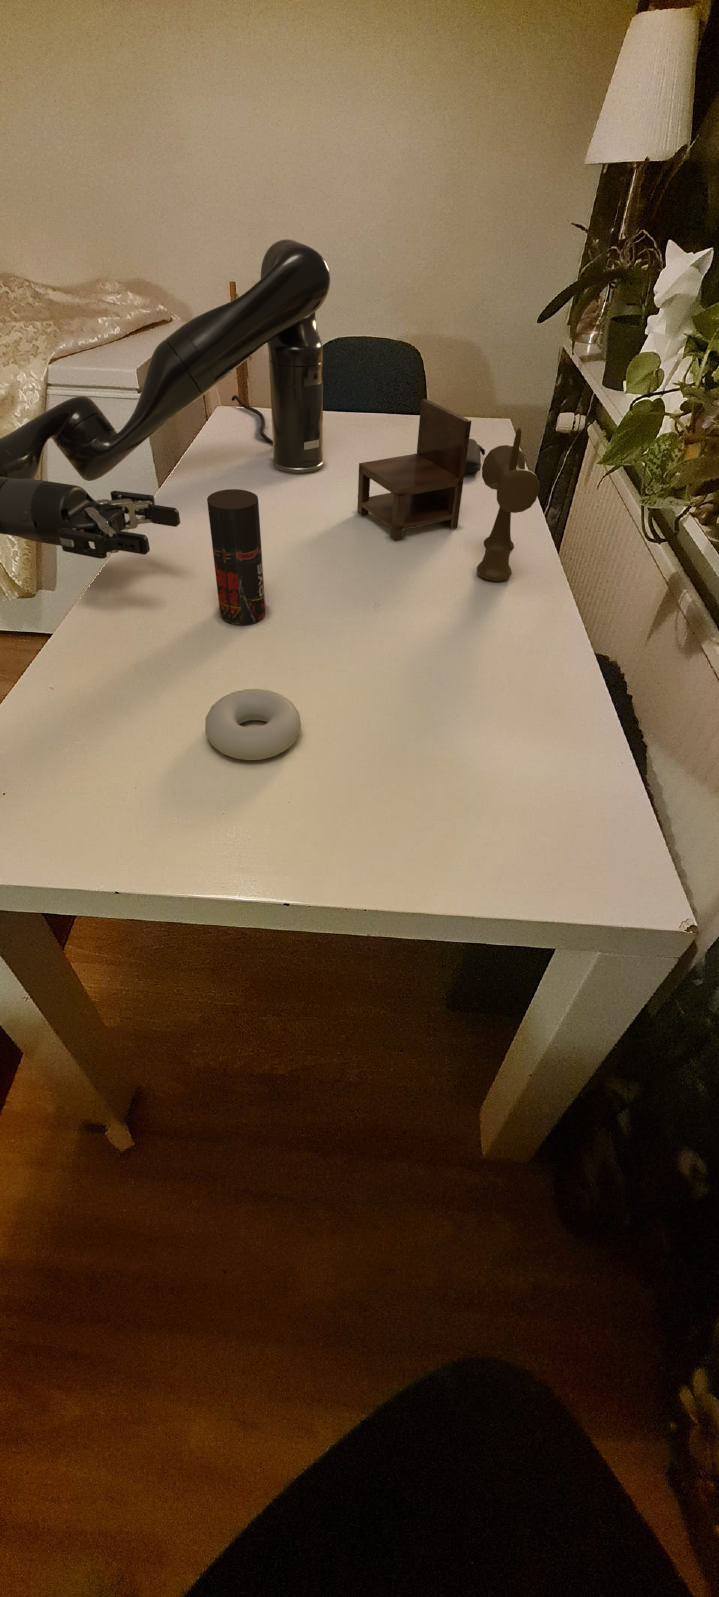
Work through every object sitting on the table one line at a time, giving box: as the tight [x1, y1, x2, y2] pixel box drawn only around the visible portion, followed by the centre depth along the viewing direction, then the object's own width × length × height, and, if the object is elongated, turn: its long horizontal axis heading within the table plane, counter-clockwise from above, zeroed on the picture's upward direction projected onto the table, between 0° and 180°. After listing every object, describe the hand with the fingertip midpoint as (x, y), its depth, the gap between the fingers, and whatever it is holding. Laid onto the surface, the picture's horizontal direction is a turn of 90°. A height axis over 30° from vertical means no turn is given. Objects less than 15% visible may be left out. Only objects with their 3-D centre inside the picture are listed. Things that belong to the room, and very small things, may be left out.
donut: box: [204, 688, 302, 761], centre depth 74 cm, size 10×4×10 cm
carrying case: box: [464, 438, 486, 477], centre depth 135 cm, size 11×3×15 cm
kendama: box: [476, 427, 540, 582], centre depth 97 cm, size 6×10×20 cm, turn 4°
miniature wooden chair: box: [357, 398, 472, 542], centre depth 111 cm, size 12×12×16 cm
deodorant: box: [206, 488, 267, 627], centre depth 88 cm, size 6×6×15 cm
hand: (163, 530), depth 88 cm, fingers open, 8 cm apart
